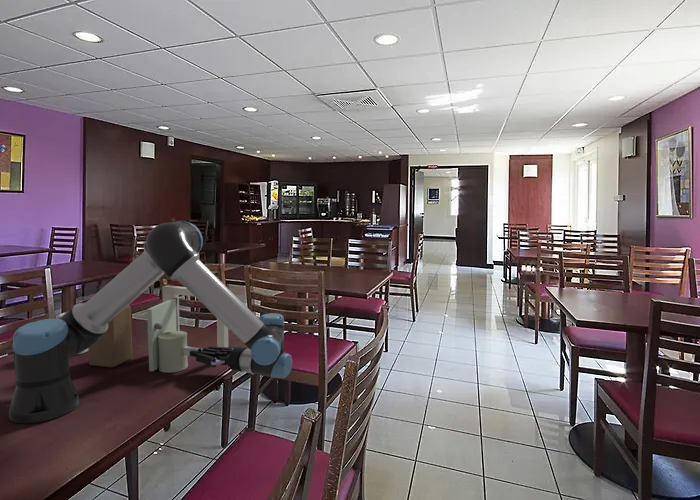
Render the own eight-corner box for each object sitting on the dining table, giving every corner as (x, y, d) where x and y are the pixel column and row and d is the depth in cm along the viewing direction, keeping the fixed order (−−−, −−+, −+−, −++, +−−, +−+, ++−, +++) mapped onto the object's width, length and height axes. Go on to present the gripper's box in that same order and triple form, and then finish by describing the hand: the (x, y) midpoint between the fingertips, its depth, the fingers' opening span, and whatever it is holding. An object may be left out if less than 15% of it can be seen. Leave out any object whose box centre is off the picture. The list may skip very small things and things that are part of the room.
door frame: (224, 360, 149) (223, 292, 146) (164, 351, 157) (162, 286, 155) (228, 358, 151) (227, 291, 148) (168, 349, 160) (167, 285, 157)
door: (144, 370, 138) (142, 309, 136) (171, 352, 155) (169, 297, 153) (158, 371, 137) (156, 309, 135) (183, 353, 155) (182, 297, 153)
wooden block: (112, 368, 140) (110, 310, 138) (87, 366, 142) (84, 308, 140) (133, 358, 150) (131, 304, 148) (109, 356, 152) (107, 302, 150)
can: (177, 360, 148) (176, 327, 147) (193, 366, 143) (192, 332, 142) (153, 368, 140) (152, 334, 139) (169, 375, 135) (168, 339, 134)
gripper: (233, 379, 127) (171, 368, 134) (256, 364, 139) (198, 355, 146) (232, 355, 126) (170, 345, 133) (256, 342, 138) (197, 334, 146)
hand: (184, 350), depth 140 cm, fingers closed
